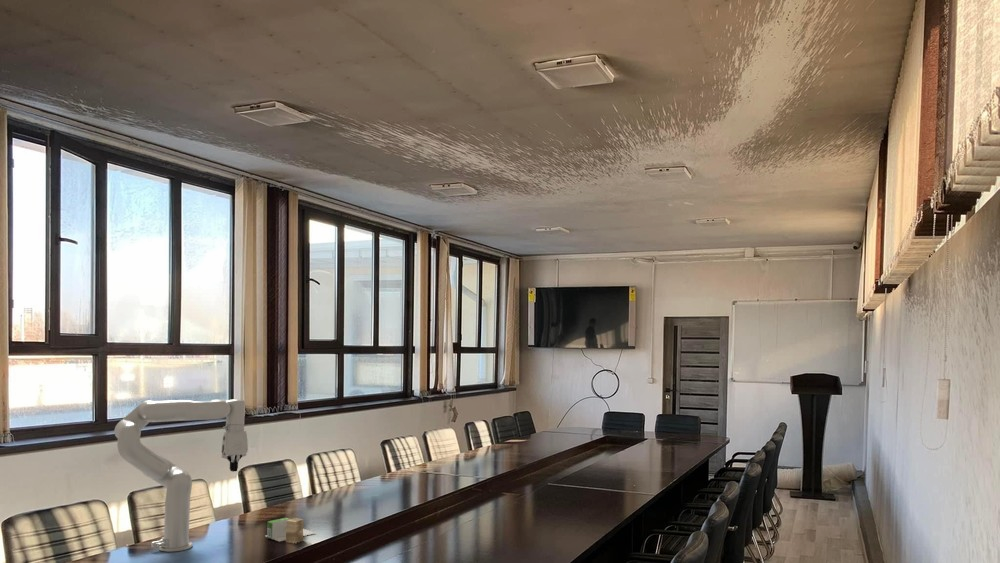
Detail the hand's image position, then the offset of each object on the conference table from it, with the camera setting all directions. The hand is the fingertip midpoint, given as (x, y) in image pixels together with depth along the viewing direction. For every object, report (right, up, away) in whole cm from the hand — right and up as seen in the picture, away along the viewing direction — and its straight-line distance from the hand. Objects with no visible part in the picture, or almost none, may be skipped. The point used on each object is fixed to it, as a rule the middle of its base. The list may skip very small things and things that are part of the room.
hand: (233, 470), depth 323 cm
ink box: (+16, -25, -1) cm, 30 cm away
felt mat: (+23, -30, +6) cm, 38 cm away
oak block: (+27, -29, -4) cm, 40 cm away
